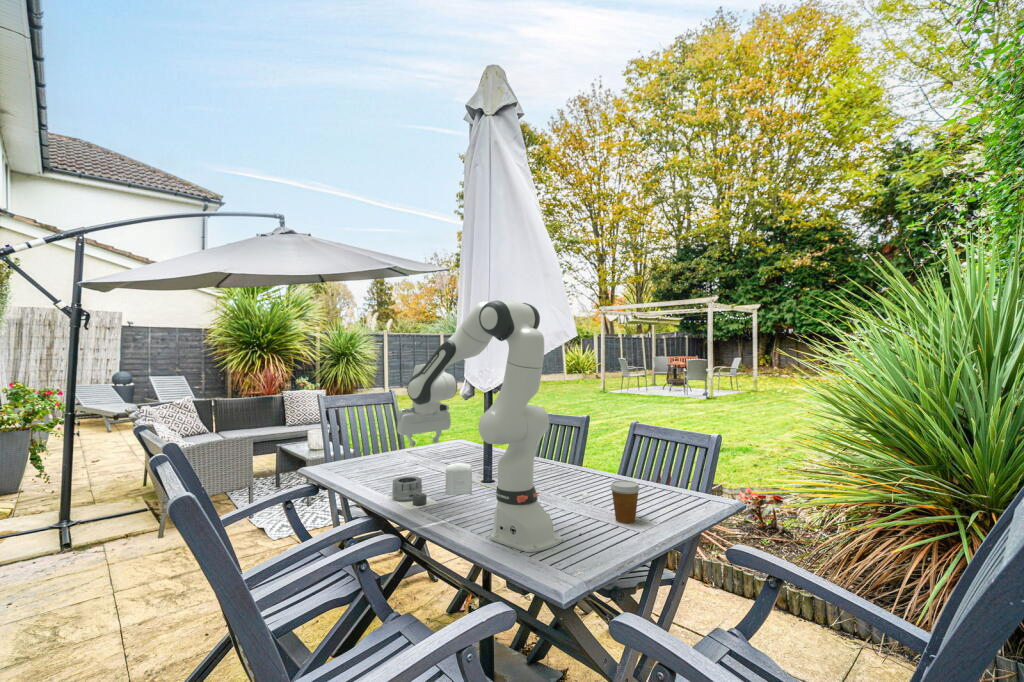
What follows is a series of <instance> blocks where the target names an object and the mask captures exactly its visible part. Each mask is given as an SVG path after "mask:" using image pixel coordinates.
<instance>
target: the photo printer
mask: <svg viewBox="0 0 1024 682" xmlns="http://www.w3.org/2000/svg"><path fill="white" fill-rule="evenodd" d="M472 493H473V469H472V466H471V464H469V463H465V462H464V463H462V462H456V463H451V464H448V465H446V469H445V494H446V495H448V496H449V495H467V494H468V495H473V494H472Z"/></svg>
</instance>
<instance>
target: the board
mask: <svg viewBox="0 0 1024 682" xmlns="http://www.w3.org/2000/svg"><path fill="white" fill-rule="evenodd" d="M386 498H387V499H389V500H391V501H392V502H394V503H396V504H398V505H399V506H401V507H403V508H404V509H406V510H408V511H410V510H414V509H419V508H423V507H427V506H432V505H436V504H439V501H436V500H434V499H432V498H429V497H428V496H427V504H426V505H423V506H414V505H413V501H410V502H398V501H394V500H393V499H392V495H391V496H386Z"/></svg>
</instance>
